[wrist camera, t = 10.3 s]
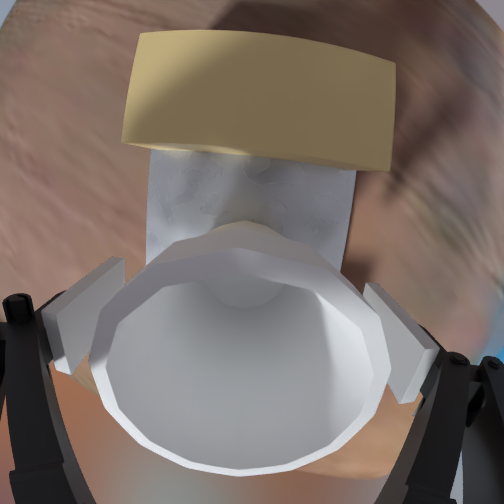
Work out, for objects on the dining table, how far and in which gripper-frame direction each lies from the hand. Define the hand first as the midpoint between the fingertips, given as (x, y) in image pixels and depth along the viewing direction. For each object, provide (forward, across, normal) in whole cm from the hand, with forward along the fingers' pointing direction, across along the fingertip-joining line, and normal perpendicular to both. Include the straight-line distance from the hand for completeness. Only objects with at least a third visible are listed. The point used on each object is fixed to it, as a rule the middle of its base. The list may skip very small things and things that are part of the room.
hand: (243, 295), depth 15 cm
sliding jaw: (+6, 0, +10) cm, 12 cm away
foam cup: (+6, 0, 0) cm, 6 cm away
